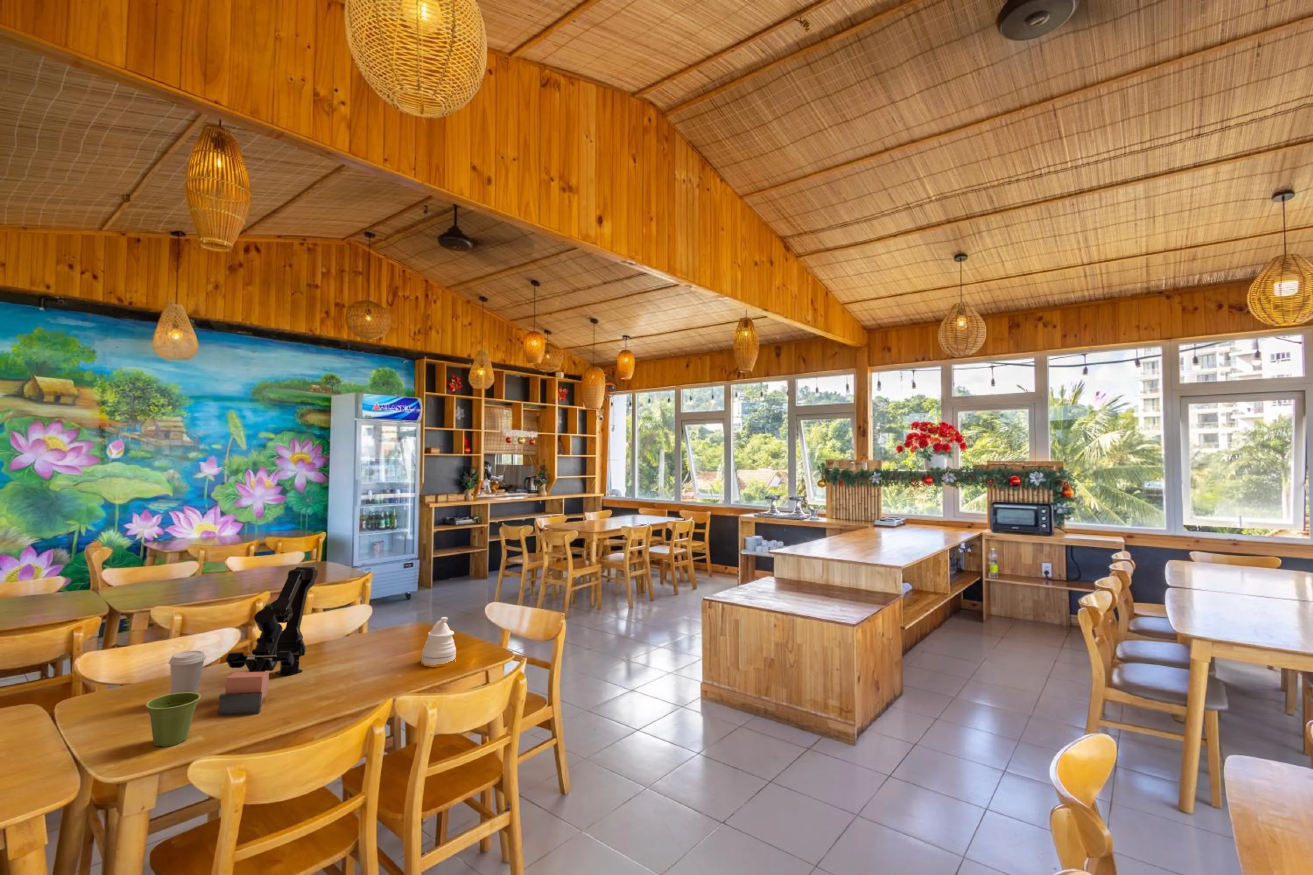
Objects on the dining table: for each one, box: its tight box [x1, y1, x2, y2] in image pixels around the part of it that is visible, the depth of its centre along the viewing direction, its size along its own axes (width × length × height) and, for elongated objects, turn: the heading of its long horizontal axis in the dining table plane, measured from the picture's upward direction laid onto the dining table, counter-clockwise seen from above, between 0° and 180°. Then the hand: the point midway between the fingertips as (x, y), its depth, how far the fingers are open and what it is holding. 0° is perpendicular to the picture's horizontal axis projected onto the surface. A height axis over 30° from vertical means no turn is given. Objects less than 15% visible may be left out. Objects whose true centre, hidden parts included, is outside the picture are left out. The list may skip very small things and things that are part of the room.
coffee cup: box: [168, 650, 207, 694], centre depth 192 cm, size 10×10×15 cm
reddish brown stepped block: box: [224, 671, 270, 705], centre depth 188 cm, size 5×10×10 cm, turn 102°
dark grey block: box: [217, 692, 263, 716], centre depth 190 cm, size 14×11×6 cm
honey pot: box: [421, 616, 457, 665], centre depth 240 cm, size 13×13×18 cm
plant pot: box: [145, 692, 201, 748], centre depth 164 cm, size 12×12×11 cm
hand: (251, 684), depth 191 cm, fingers closed, pressing on reddish brown stepped block
